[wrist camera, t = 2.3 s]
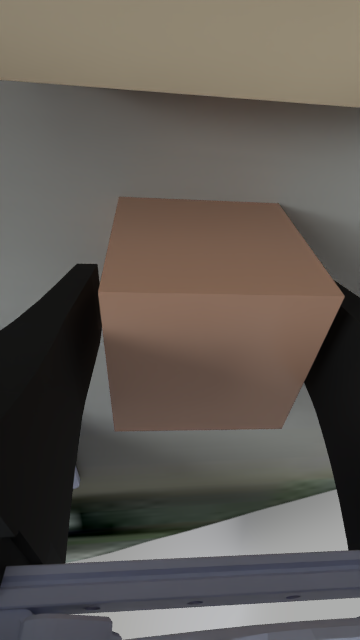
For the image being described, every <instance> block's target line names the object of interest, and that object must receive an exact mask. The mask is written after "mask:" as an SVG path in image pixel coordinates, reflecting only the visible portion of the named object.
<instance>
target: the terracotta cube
mask: <svg viewBox="0 0 360 640" xmlns="http://www.w3.org/2000/svg"><path fill="white" fill-rule="evenodd" d="M98 296H99V304H100V312H101V321H102V329H103V338H104V346H105V354H106V363H107V371H108V379H109V388H110V396H111V404H112V413H113V421H114V430H115V431H172V430H236V429H282V427H283V425H284V423H285V421H286V419H287V416H288V414H289V412H290V410H291V408H292V406H293V404H294V402H295V400H296V398H297V396H298V393H299V391H300V389H301V387H302V385H303V383H304V381H305V379H306V377H307V375H308V373H309V370H310V368H311V366H312V364H313V362H314V360H315V358H316V356H317V354H318V352H319V350H320V347H321V345H322V343H323V341H324V339H325V337H326V335H327V333H328V331H329V329H330V327H331V324H332V322H333V320H334V318H335V316H336V314H337V312H338V310H339V308H340V306H341V304H342V301H343V299H344V297H345V296H344V294H343V293H342V292H341V290H340V289H339V287H338V286H337V285H336V283H335V282H334V280H333V279H332V278H331V276H330V275H329V273H328V272H327V271H326V269H325V268H324V266H323V265H322V264H321V262H320V261H319V259H318V258H317V257H316V255H315V254H314V252H313V251H312V250H311V248H310V247H309V245H308V244H307V243H306V241H305V240H304V238H303V237H302V236H301V234H300V233H299V231H298V230H297V229H296V227H295V226H294V224H293V223H292V222H291V220H290V219H289V217H288V216H287V215H286V213H285V212H284V210H283V209H282V208H281V206H280V205H279V203H255V202H231V201H207V200H184V199H160V198H136V197H119V200H118V204H117V209H116V213H115V218H114V222H113V227H112V231H111V236H110V240H109V245H108V249H107V254H106V258H105V263H104V267H103V272H102V276H101V281H100V285H99V290H98Z"/></svg>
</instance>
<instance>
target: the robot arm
mask: <svg viewBox="0 0 360 640" xmlns="http://www.w3.org/2000/svg"><path fill="white" fill-rule="evenodd" d="M334 282H335V283H336V285H337V286H338V287H339V289H340V290H341V292H342V293H343V294H344V296H345V297H344V299H343V301H342V304H341V306H340V308H339V310H338V312H337V314H336V316H335V318H334V320H333V322H332V324H331V327H330V329H329V331H328V333H327V335H326V337H325V339H324V341H323V343H322V345H321V347H320V350H319V352H318V354H317V356H316V358H315V360H314V362H313V364H312V366H311V368H310V370H309V373H308V375H307V377H306V379H305V381H304V383H305V386H306V388H307V390H308V393H309V395H310V397H311V400H312V402H313V405H314V408H315V411H316V414H317V417H318V420H319V424H320V427H321V430H322V434H323V437H324V441H325V444H326V448H327V452H328V456H329V460H330V463H331V467H332V471H333V476H334V480H335V484H336V489H337V493H338V497H339V502H340V507H341V512H342V517H343V522H344V527H345V533H346V538H347V544H348V550H349V551H328V552H309V553H308V552H307V553H285V554H265V555H241V556H221V557H197V558H176V559H154V560H133V561H110V562H88V563H66V564H65V561H66V550H67V540H68V529H69V519H70V510H71V501H72V492H73V489H75V488H77V487H79V484H80V478H79V474H78V471H77V468H76V459H77V451H78V443H79V436H80V429H81V422H82V415H83V410H84V405H85V400H86V396H87V392H88V388H89V385H90V381H91V377H92V373H93V369H94V365H95V361H96V357H97V353H98V349H99V345H100V339H101V331H102V321H101V312H100V304H99V296H98V290H99V285H100V283H99V274H98V266H97V264H76V265H75V266H74V267H73V268H72V269H71V270H70V271H69V272H68V273H67V274H66V275H65V276H64V277H63V278H62V279H61V280H60V281H59V282H58V283H57V284H56V285H55V286H54V287H53V288H52V289H51V290H50V291H48V292H47V293H46V294H45V295H44V296H43V297H42V298H41V299H40V300H39V301H38V302H36V303H35V304H34V305H33V306H32V307H30V308H29V309H28V310H27V311H26V312H24V313H23V314H22V315H21V316H20V317H18V318H17V319H16V320H14V321H13V322H12V323H10V324H9V325H8V326H6V327H5V328H3V329H2V330H0V640H122V638H121V636H120V635H119V634H118V633H115V632H113V631H112V621H111V619H110V618H109V617H100V616H85V615H69V614H82V613H99V612H118V611H135V610H151V609H169V608H185V607H186V608H187V607H202V606H203V607H204V606H220V605H238V604H255V603H272V602H290V601H307V600H324V599H342V598H358V597H360V298H359V297H358V296H356V295H355V294H354V293H352V292H351V291H349V290H348V289H346V288H345V287H343V286H342V285H340V284H339V283H337V282H336V281H334ZM126 640H360V617H357V618H346V619H331V620H315V621H300V622H287V623H276V624H265V625H252V626H242V627H233V628H224V629H214V630H205V631H195V632H187V633H178V634H170V635H161V636H152V637H144V638H135V639H126Z"/></svg>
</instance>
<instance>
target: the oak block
mask: <svg viewBox="0 0 360 640" xmlns="http://www.w3.org/2000/svg"><path fill="white" fill-rule="evenodd" d="M0 80H8V81H21V82H34V83H47V84H60V85H73V86H86V87H99V88H112V89H124V90H137V91H150V92H163V93H176V94H189V95H202V96H215V97H228V98H241V99H254V100H267V101H280V102H293V103H306V104H319V105H332V106H345V107H358V108H360V0H0Z"/></svg>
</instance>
